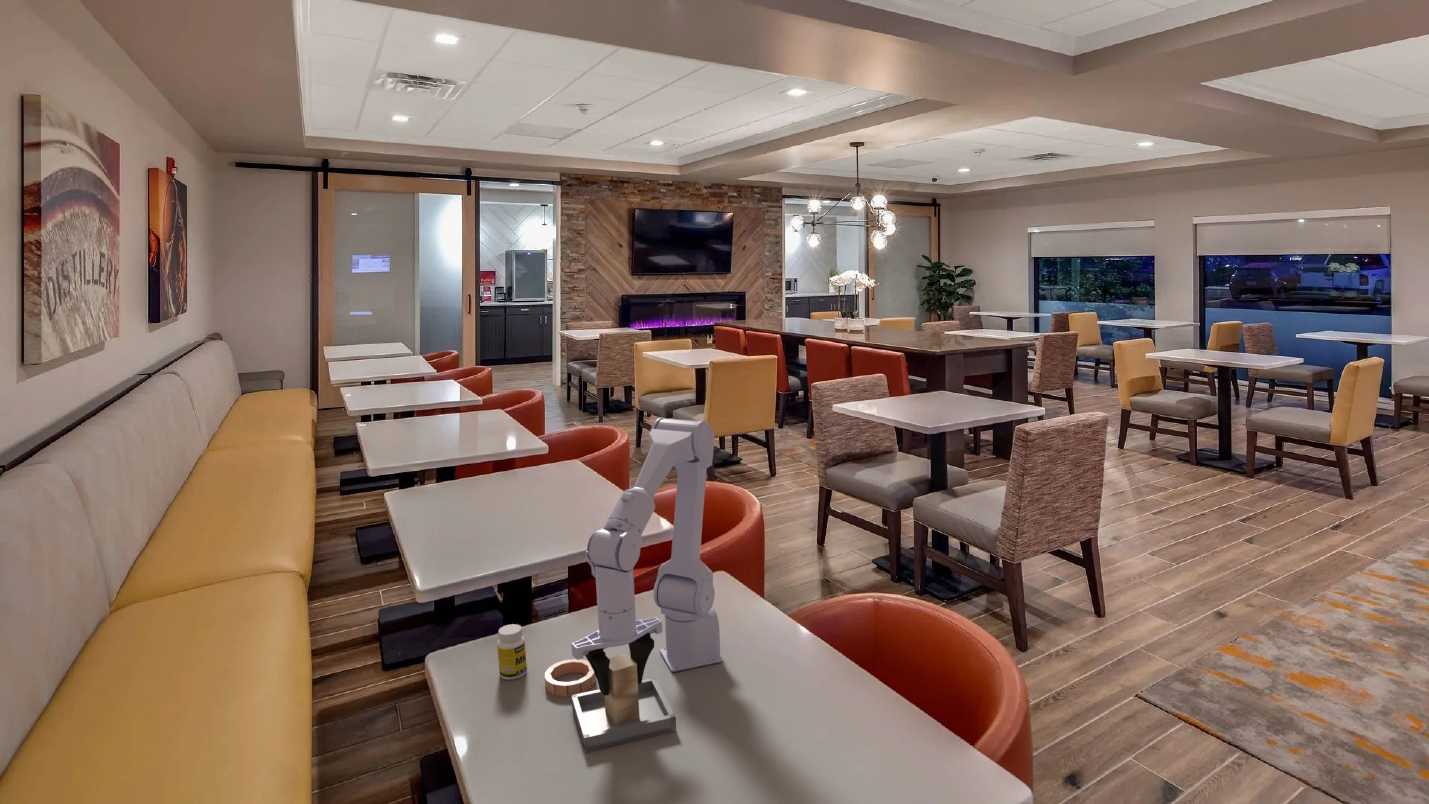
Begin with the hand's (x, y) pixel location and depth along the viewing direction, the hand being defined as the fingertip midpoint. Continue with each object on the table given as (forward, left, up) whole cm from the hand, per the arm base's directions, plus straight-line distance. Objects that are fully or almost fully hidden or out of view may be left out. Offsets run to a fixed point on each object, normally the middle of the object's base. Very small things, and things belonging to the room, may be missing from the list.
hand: (620, 686), depth 117 cm
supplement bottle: (+15, -21, -6) cm, 26 cm away
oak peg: (0, 0, -5) cm, 5 cm away
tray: (0, 0, -6) cm, 6 cm away
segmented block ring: (+6, -14, -6) cm, 16 cm away
